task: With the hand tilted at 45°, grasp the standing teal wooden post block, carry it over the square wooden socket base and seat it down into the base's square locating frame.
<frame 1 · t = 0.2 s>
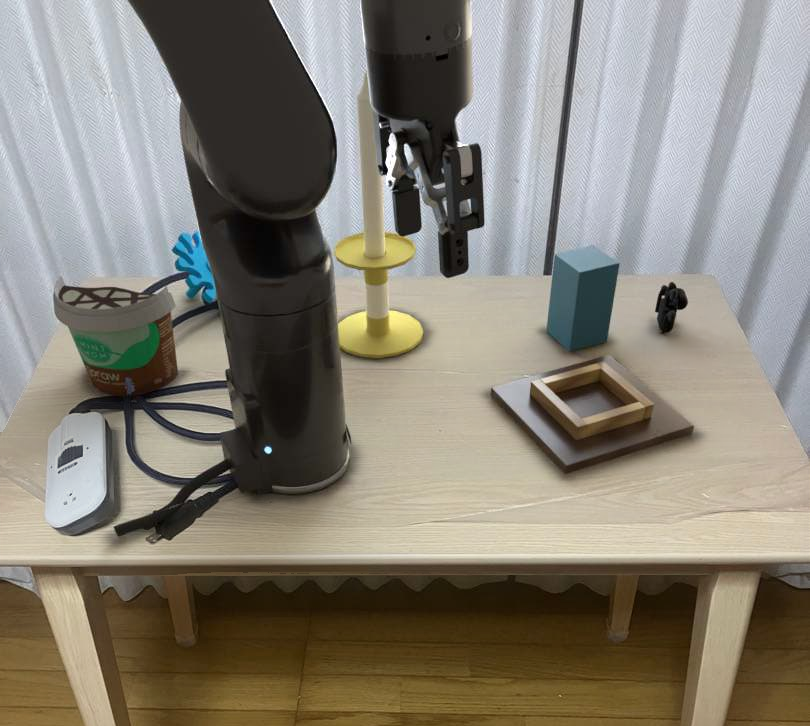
hand: (430, 252, 71), 17 cm above the table, tool pointing down, fingers open, 8 cm apart
wireless earbuds: (667, 330, 96), on the table
food container: (124, 387, 89), on the table
post block: (576, 336, 94), on the table
candle: (378, 335, 96), on the table
square wooden socket base: (588, 414, 84), on the table
blue branched piece: (219, 299, 102), on the table
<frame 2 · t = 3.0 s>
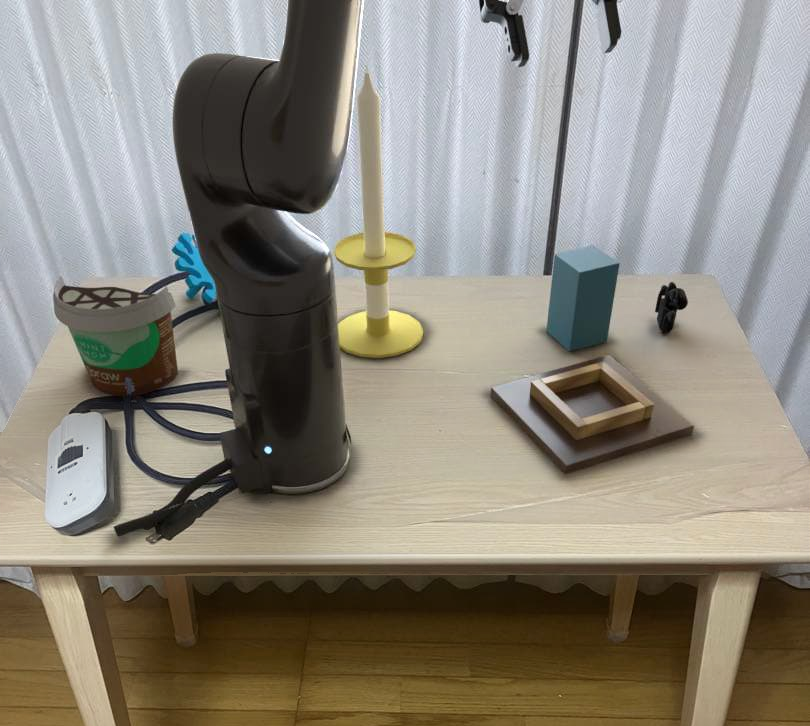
hand: (567, 56, 80), 26 cm above the table, tool tilted 35°, fingers open, 8 cm apart
nothing on the table moved.
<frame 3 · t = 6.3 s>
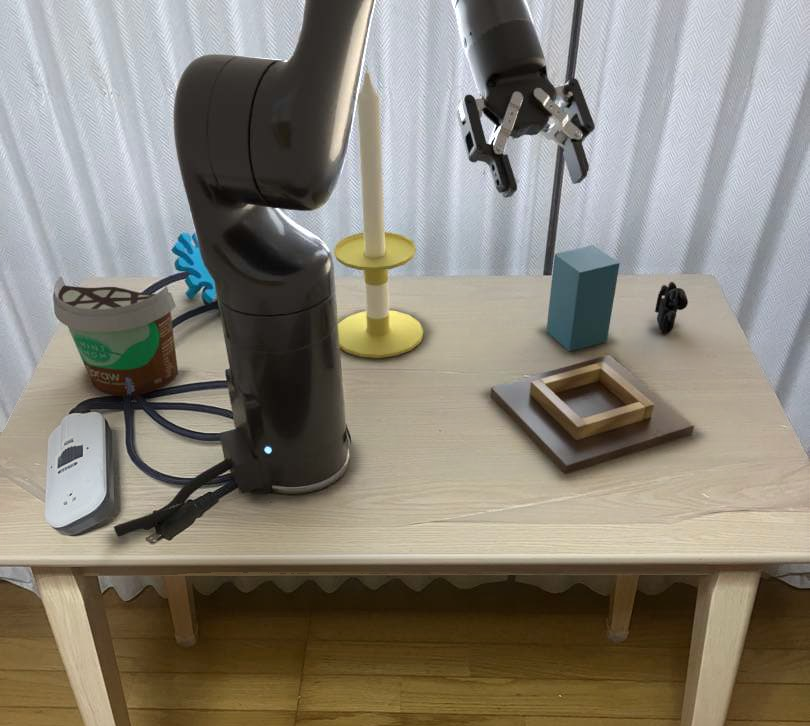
hand: (546, 187, 91), 13 cm above the table, tool tilted 45°, fingers open, 8 cm apart
nothing on the table moved.
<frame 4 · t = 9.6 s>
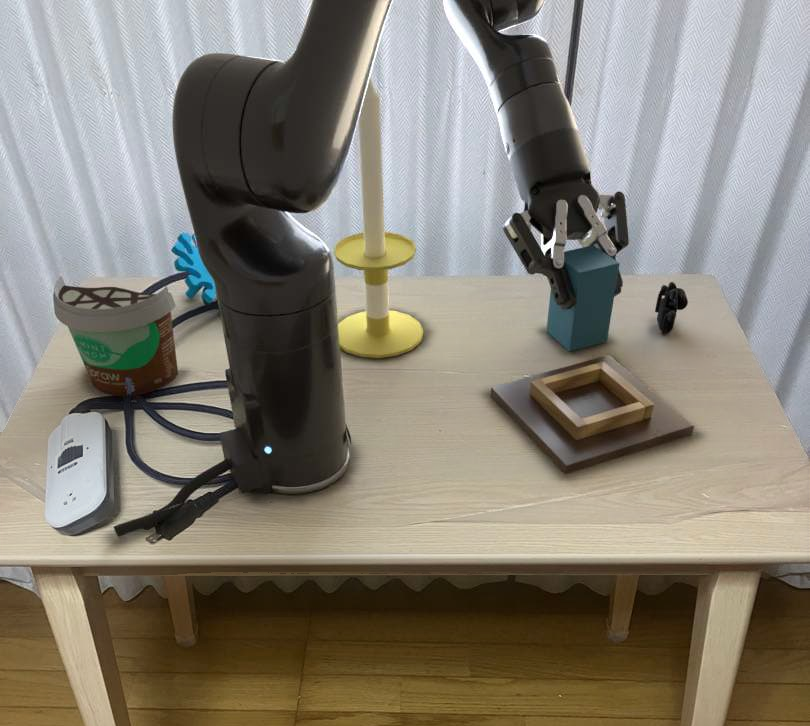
hand: (592, 300, 90), 5 cm above the table, tool tilted 45°, fingers closed on post block, 4 cm apart
post block: (576, 336, 94), on the table, touching gripper
everything else where it was.
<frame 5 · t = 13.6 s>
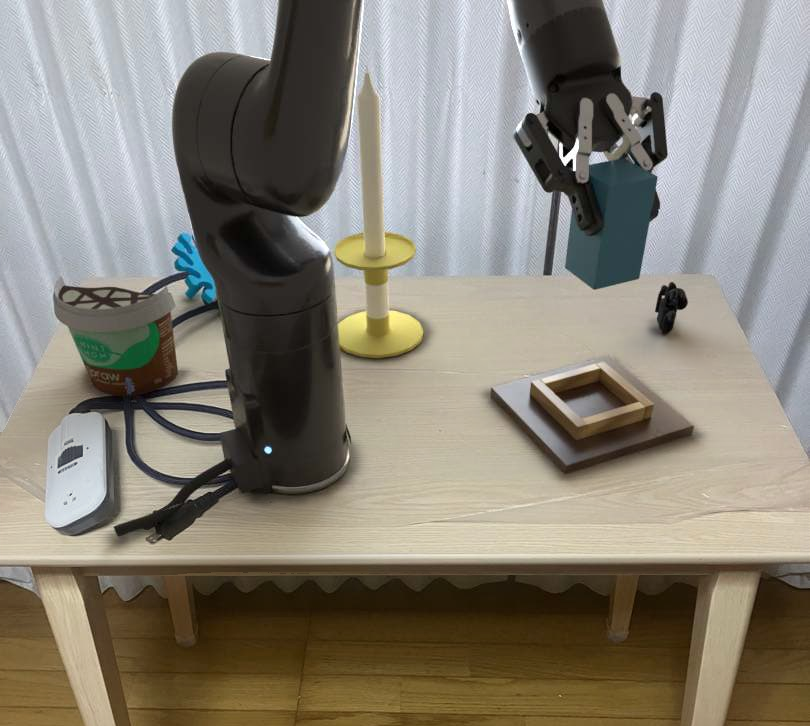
hand: (622, 225, 73), 18 cm above the table, tool tilted 45°, fingers closed on post block, 4 cm apart
post block: (601, 273, 78), point 13 cm above the table, touching gripper
everything else where it was.
when the fingers open (6 cm above the table, at t = 17.6 s): post block stays where it is, resting on square wooden socket base.
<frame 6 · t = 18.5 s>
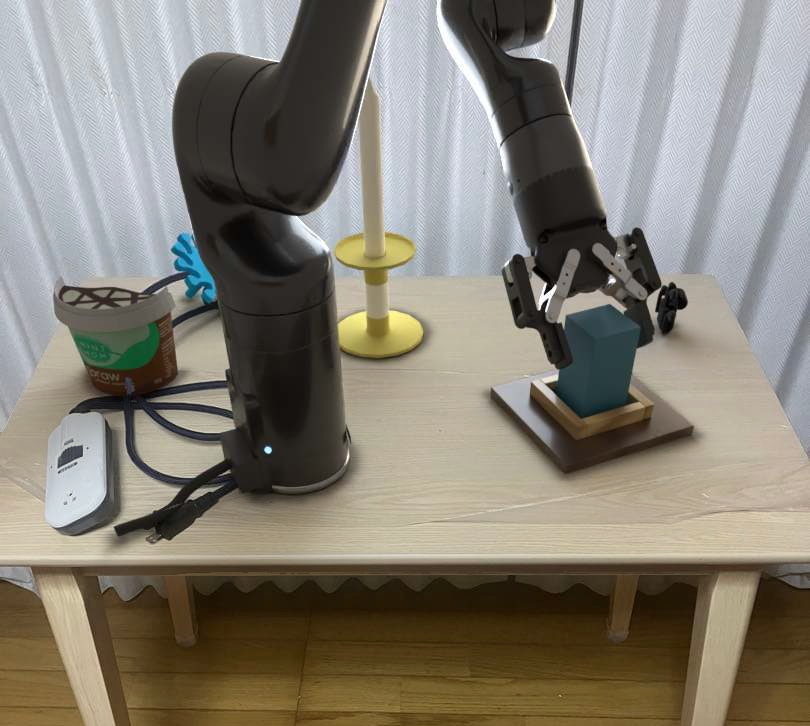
hand: (605, 355, 78), 7 cm above the table, tool tilted 45°, fingers open, 8 cm apart
post block: (589, 405, 83), point 1 cm above the table, touching square wooden socket base
everything else where it was.
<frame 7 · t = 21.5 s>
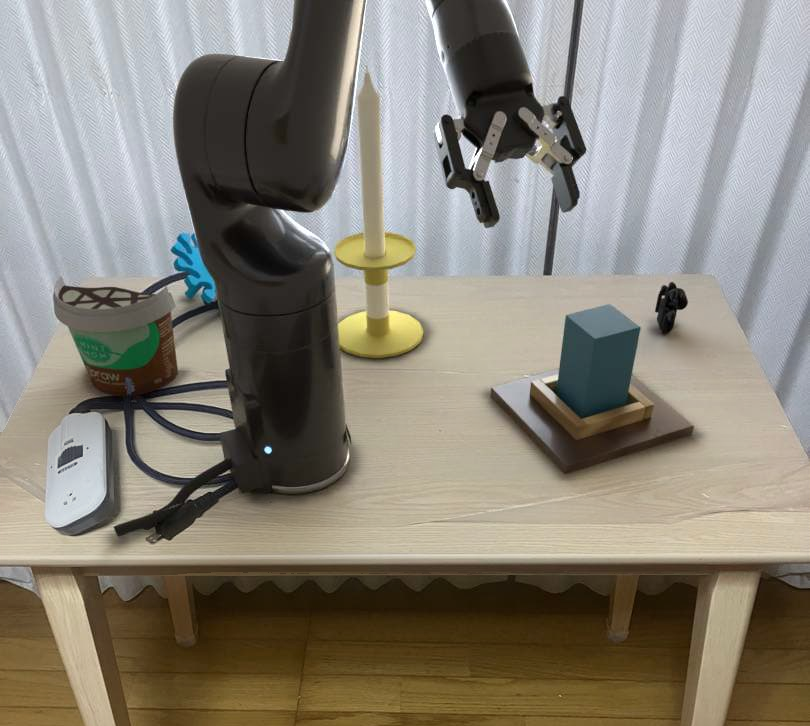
hand: (532, 216, 82), 15 cm above the table, tool tilted 45°, fingers open, 8 cm apart
nothing on the table moved.
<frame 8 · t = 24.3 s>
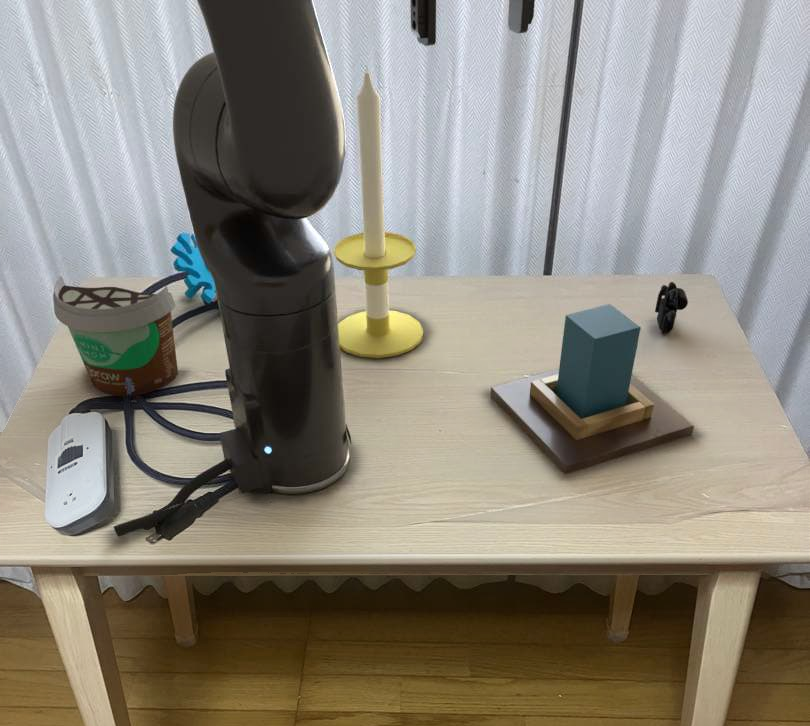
hand: (472, 37, 71), 30 cm above the table, tool pointing down, fingers open, 8 cm apart
nothing on the table moved.
at the end: post block 0.1 cm off-centre on the square wooden socket base, point 1.0 cm above the square wooden socket base's base; post block tilted 0°; the gripper is holding nothing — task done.
